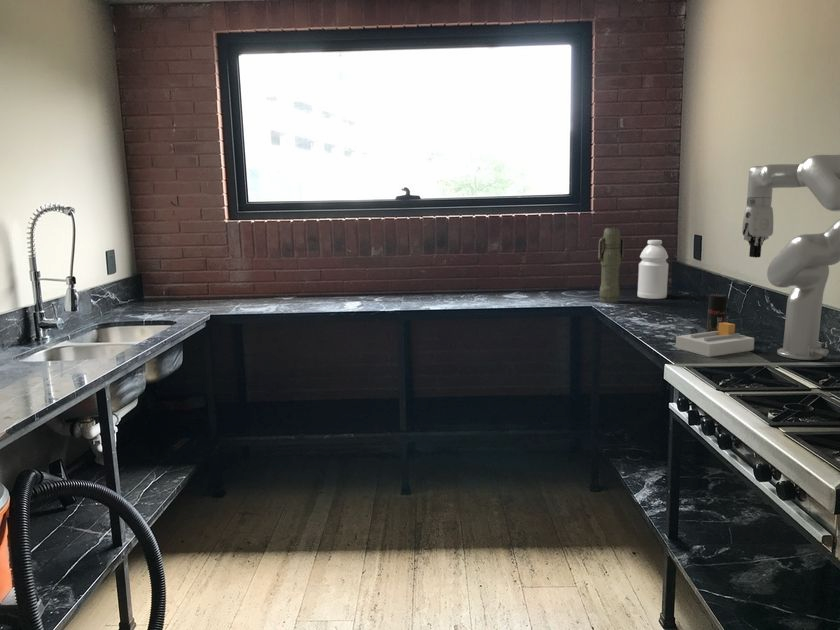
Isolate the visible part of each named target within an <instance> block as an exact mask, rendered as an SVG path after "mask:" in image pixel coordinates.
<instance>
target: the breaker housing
mask: <svg viewBox="0 0 840 630" xmlns="http://www.w3.org/2000/svg"><path fill="white" fill-rule="evenodd" d="M675 349H678V350H682V351H686V352H689V353H694V354H697V355H702V356H704V357H709V358H710V357H716V356H723V355H724V356H725V355H730V354H735V353H736V354H737V353H742V352H743V353H744V352H750V351H754V350H755V337H751V336H746V335H743V334H741V333H738V332H737V333H736V332H735V333H734V334H728V335H718V331H712V332H707V331H706V332H705V331H704V332H699V333H698V332H697V333H692V334H691V333H690V334H683V335H676V337H675Z"/></svg>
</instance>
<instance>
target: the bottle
mask: <svg viewBox="0 0 840 630" xmlns="http://www.w3.org/2000/svg"><path fill="white" fill-rule="evenodd" d="M662 244H663V241H662V240H661V239H648V240H647V245H646V246H645V247H644V248H643V250H642V251H641V253H640V255H639V258H640V259H641V261H640V262H639V263H638V272H637V273H638V276H637V277H638V278H637V293H636V295H637V297H638V298H641V299H651V300H652V299H655V300H656V299H657V300H658V299H666V298H667V297H668V296H667V295H668V281H669V280H668V278H669V277H668V276H669V263H668V262H667V260H668V258H669V255H668V251H667V250H666V249H665V247H664V246H662Z"/></svg>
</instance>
